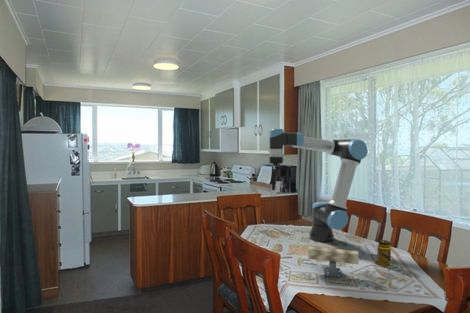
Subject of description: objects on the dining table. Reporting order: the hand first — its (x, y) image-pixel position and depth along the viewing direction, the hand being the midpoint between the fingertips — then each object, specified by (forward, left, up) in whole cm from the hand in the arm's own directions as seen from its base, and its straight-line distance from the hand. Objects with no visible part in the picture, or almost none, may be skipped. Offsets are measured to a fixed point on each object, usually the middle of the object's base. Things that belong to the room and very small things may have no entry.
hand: (275, 194), depth 181 cm
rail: (+25, +31, -32) cm, 51 cm away
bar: (+25, +31, -25) cm, 47 cm away
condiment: (+6, +55, -32) cm, 64 cm away
